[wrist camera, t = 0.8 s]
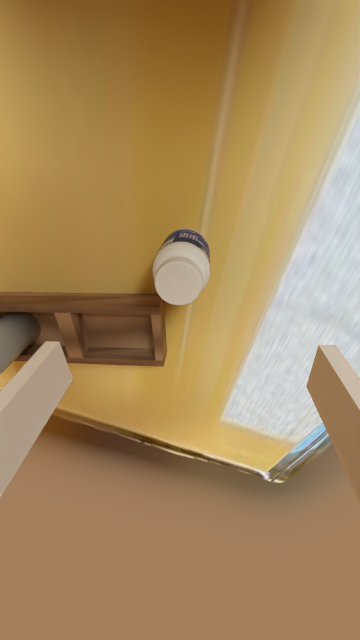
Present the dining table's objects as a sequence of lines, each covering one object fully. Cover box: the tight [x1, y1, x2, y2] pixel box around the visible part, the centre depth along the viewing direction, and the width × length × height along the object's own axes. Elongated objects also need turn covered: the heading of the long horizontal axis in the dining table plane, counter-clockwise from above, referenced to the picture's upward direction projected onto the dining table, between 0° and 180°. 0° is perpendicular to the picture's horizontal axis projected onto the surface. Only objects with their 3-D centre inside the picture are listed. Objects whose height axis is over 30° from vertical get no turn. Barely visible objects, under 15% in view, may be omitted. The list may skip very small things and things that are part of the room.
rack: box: [0, 292, 167, 366], centre depth 34 cm, size 9×24×4 cm, turn 91°
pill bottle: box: [152, 228, 210, 306], centre depth 25 cm, size 5×5×10 cm
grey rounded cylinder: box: [0, 312, 41, 374], centre depth 31 cm, size 5×5×9 cm
